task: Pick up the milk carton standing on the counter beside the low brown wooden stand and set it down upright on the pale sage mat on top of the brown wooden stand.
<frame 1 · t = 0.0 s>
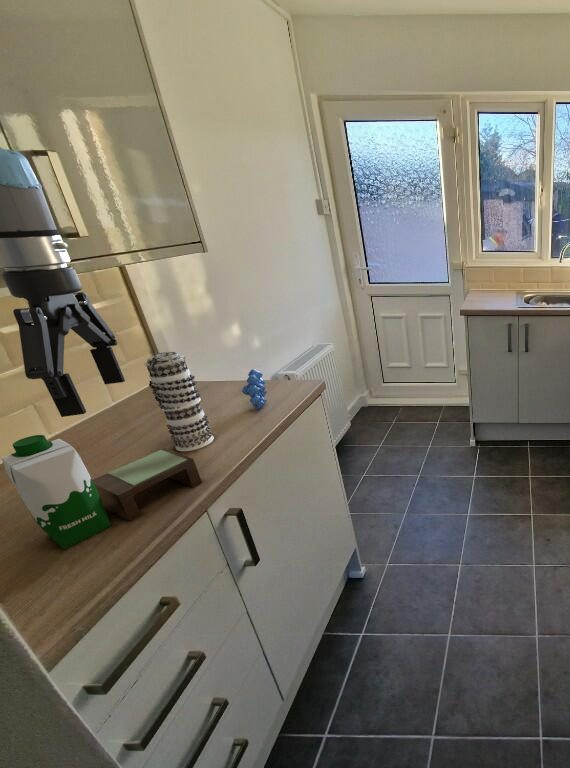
hand: (96, 397, 70), 29 cm above the countertop, tool pointing down, fingers open, 13 cm apart
white patterned cylinder: (195, 443, 111), on the countertop
brown wooden stand: (153, 493, 91), on the countertop
milk carton: (81, 532, 81), on the countertop
grapes: (258, 406, 131), on the countertop
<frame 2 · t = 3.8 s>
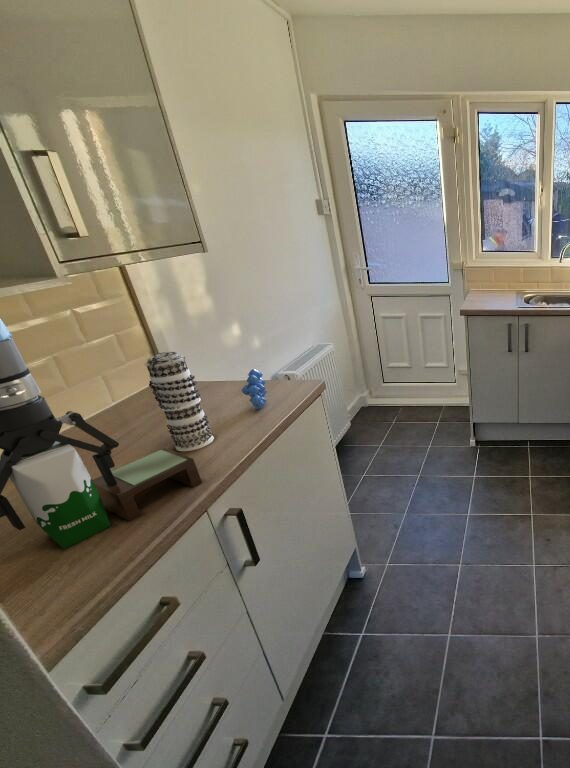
hand: (68, 503, 78), 7 cm above the countertop, tool pointing down, fingers open, 13 cm apart
nothing on the countertop moved.
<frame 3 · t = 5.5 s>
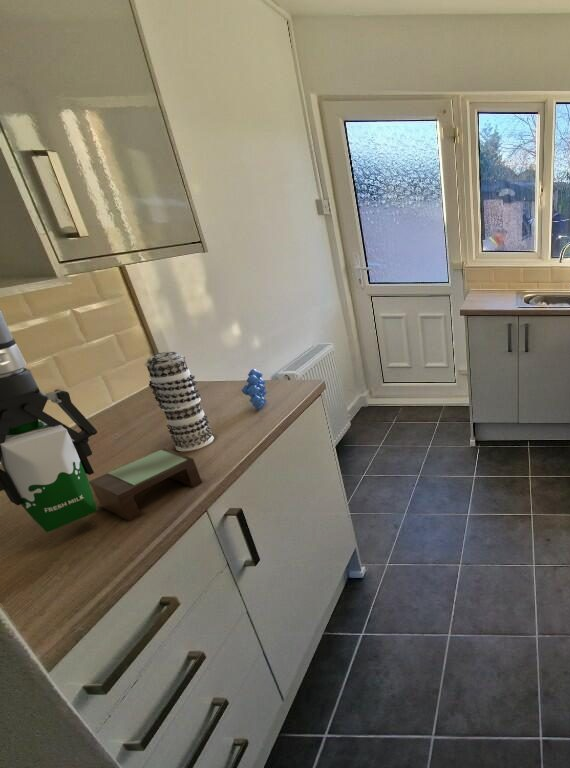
hand: (54, 486, 77), 11 cm above the countertop, tool pointing down, fingers closed on milk carton, 9 cm apart
milk carton: (66, 516, 79), point 4 cm above the countertop, touching gripper
everything else where it was.
when the fingers open (13 cm above the countertop, at t = 10.2 s): milk carton stays where it is, resting on brown wooden stand.
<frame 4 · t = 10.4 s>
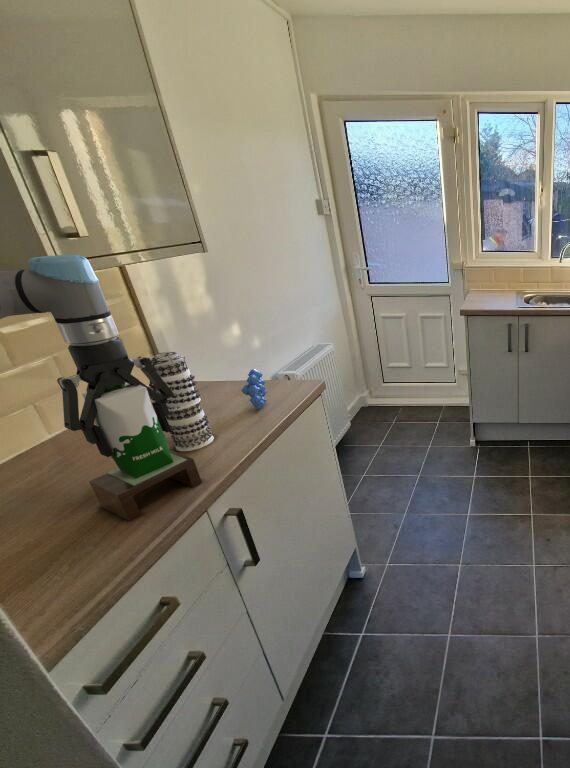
hand: (137, 442, 87), 13 cm above the countertop, tool pointing down, fingers open, 10 cm apart
milk carton: (147, 466, 90), point 7 cm above the countertop, touching brown wooden stand
everything else where it was.
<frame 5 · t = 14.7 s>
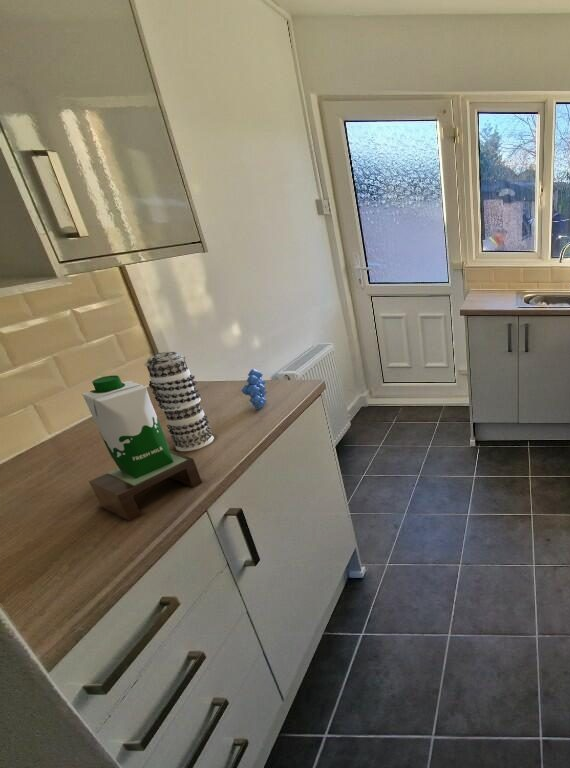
nothing on the countertop moved.
at the end: milk carton inside the target area (0.2 cm from its centre), point 6.5 cm above the countertop; milk carton tilted 0°; the gripper is holding nothing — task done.
